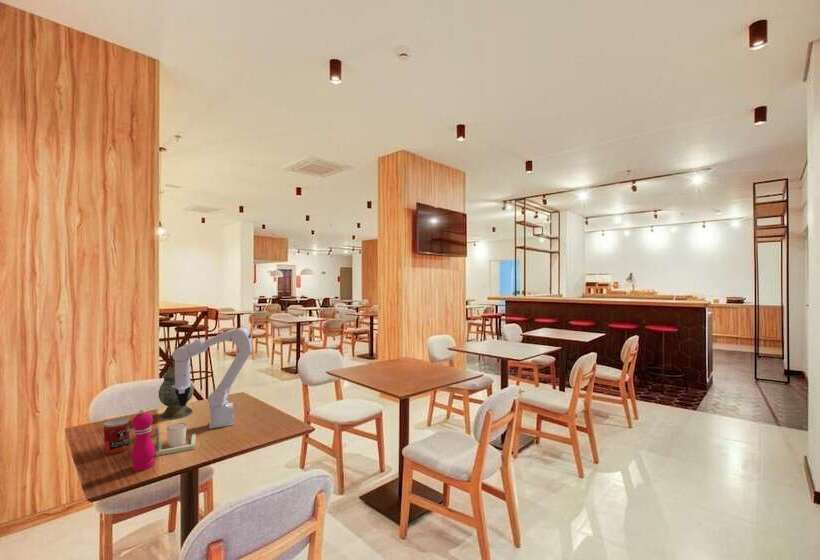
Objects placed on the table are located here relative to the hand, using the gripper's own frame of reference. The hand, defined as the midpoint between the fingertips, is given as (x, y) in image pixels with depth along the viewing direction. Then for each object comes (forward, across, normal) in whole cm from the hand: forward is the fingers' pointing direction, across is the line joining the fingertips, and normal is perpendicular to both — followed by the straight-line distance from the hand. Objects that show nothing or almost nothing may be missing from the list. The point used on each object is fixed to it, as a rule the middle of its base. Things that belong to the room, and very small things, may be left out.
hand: (183, 405), depth 170 cm
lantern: (+10, -20, -4) cm, 23 cm away
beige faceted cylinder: (+10, +18, -1) cm, 21 cm away
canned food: (+10, +14, -21) cm, 27 cm away
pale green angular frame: (+9, +21, -2) cm, 23 cm away
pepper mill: (+10, +34, -10) cm, 37 cm away
